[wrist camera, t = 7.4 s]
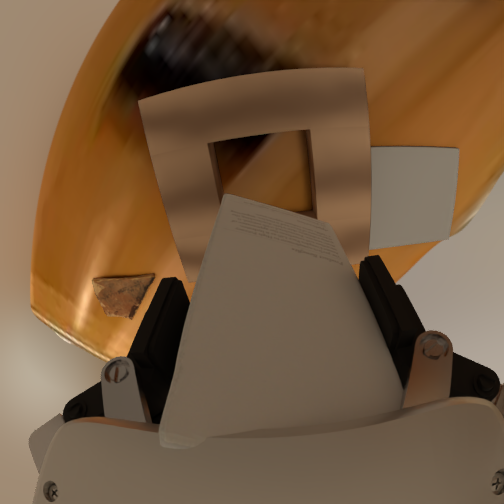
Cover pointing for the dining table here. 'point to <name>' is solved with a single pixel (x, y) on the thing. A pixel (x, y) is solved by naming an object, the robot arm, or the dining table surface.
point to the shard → (122, 294)
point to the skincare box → (275, 333)
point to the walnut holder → (255, 123)
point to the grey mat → (412, 194)
